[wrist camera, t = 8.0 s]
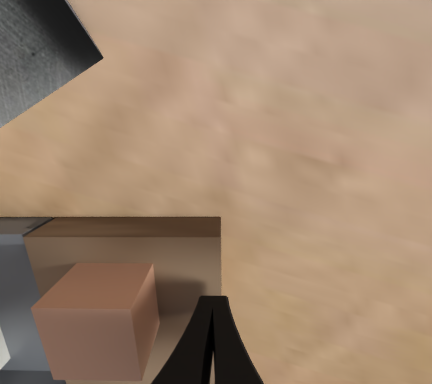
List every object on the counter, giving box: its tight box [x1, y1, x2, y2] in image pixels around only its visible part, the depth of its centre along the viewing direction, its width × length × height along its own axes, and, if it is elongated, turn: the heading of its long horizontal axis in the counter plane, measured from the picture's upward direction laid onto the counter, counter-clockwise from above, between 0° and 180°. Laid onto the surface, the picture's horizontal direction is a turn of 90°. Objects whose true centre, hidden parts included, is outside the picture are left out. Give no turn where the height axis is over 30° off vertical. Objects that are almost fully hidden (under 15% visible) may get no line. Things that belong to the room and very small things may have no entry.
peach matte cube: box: [31, 263, 160, 381], centre depth 11 cm, size 4×4×3 cm
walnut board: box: [23, 217, 221, 384], centre depth 14 cm, size 13×10×2 cm
